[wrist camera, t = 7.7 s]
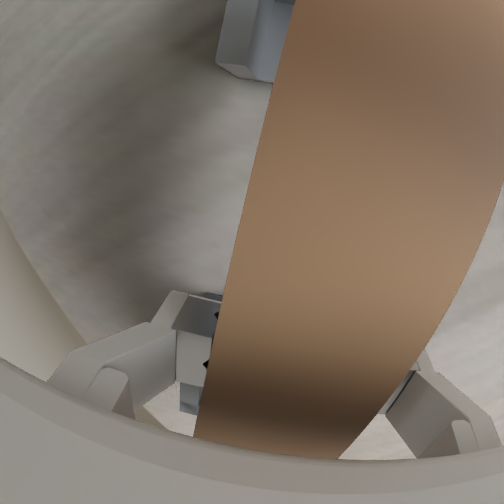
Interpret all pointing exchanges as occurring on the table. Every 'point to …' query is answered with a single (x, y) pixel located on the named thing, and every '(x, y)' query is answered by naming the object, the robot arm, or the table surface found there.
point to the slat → (355, 217)
